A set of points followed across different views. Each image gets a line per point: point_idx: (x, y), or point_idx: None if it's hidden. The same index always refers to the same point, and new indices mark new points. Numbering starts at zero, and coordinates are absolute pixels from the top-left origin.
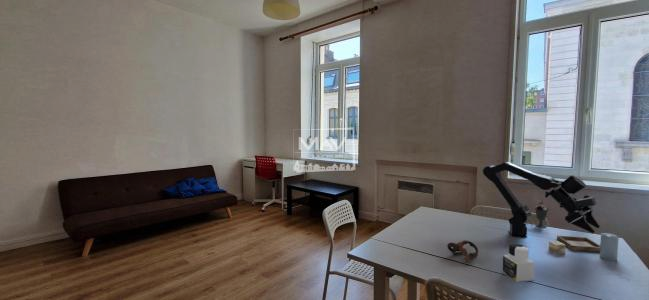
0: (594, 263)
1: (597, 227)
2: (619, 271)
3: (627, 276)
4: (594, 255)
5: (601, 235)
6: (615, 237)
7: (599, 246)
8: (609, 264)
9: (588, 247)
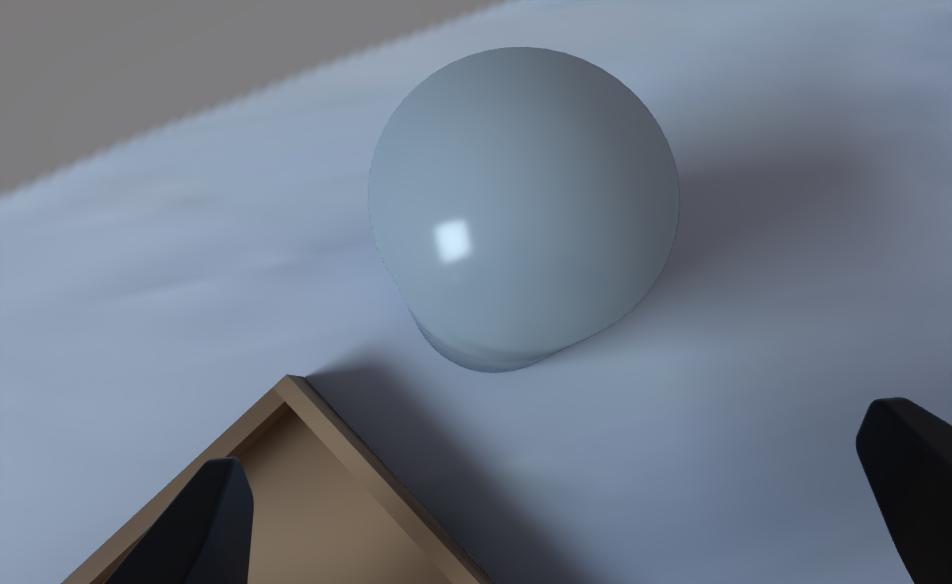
0: (825, 339)
1: (247, 507)
2: (822, 115)
3: (891, 40)
4: (532, 419)
5: (614, 321)
6: (587, 81)
7: (241, 443)
8: (699, 227)
9: (431, 530)
